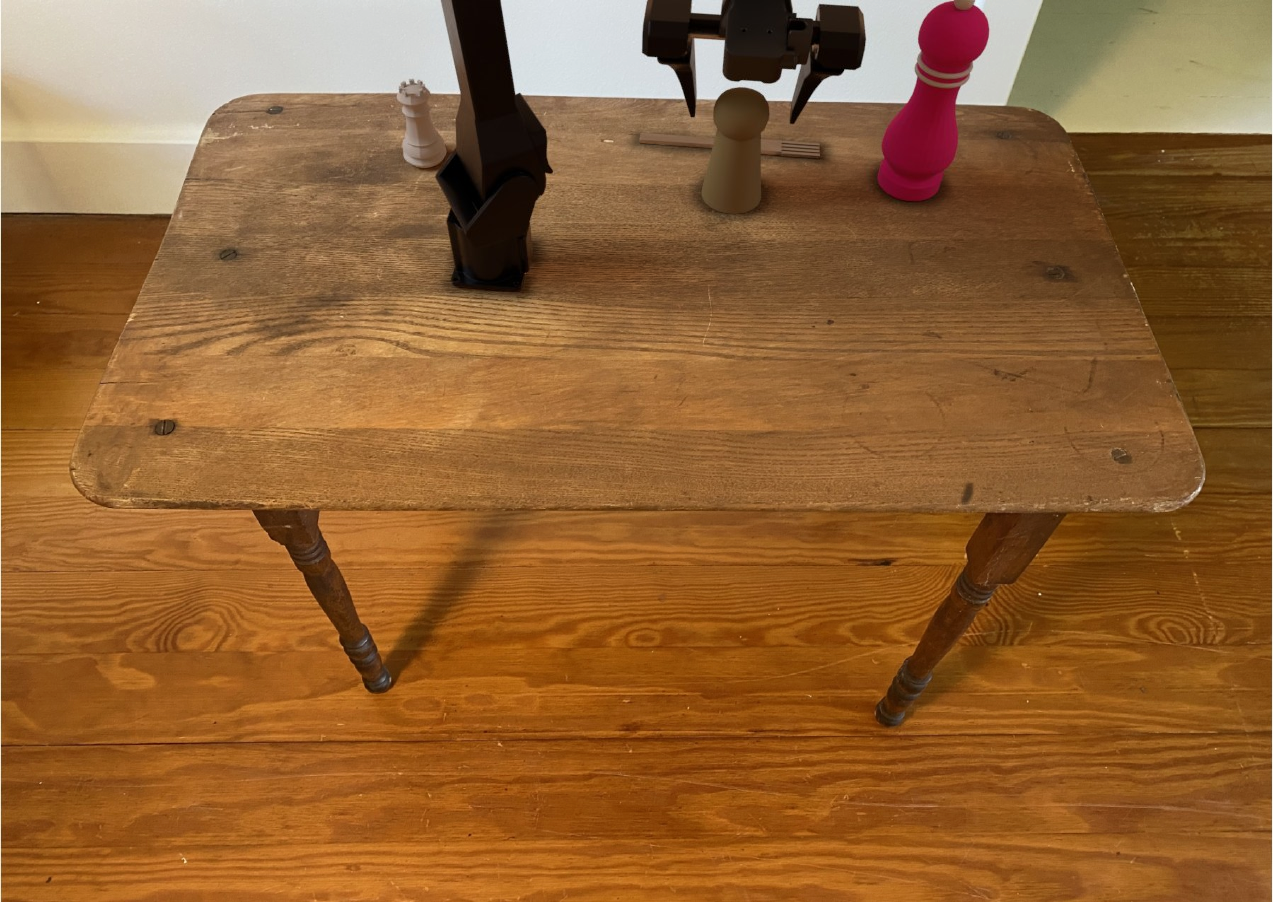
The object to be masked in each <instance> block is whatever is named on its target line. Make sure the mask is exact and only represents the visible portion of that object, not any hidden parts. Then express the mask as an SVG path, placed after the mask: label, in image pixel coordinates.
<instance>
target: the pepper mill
mask: <svg viewBox="0 0 1273 902" xmlns="http://www.w3.org/2000/svg"><path fill="white" fill-rule="evenodd" d="M975 2H976V0H948V1H945V2H942V3H940V4H937V5H936V6H935V7H933V8H932V9H931V10H930V11H928V12H927V14H926V15H925V17H924V18H923V20H922V22H921V24H920V26H919V30H918V35H917V43H918V44H917V45H918V47H919V49H920V52H919V53H918V55H917V57H916V63H915V64H914V73H915V75H916V81H915V85H914V88H913V91H912V93H911V96H910V98H909V99H908V101H907V102H906V103H905V104H904V106H903V107H902V109H900V111H898V113H897V114H896V115H895V116H894V117H893V119H892V120H891V121H890V123H889V124H888V125H887V127H886V129H885V132H884V134H883V137H882V140H881V152H882V153H881V154H882V155H883V159H882V160H881V162H880V166H879V170H878V173H877V183H878V184H879V186H880V188H881V189H882V191H884V192H885V193H886V194H888V195H889V196H891V197H893V198H895V199H898V200H901V201H905V202H921V201H926V200H928V199H930V198H932V197H933V196H935V195H936V193H937V192H938V191H939V189H940V186H941V183H942V180H943V177H944V171H945V170H947V168H949V167H950V166H951V164H952V163H953V162H954V160H955V157H956V155H957V150H958V145H959V129H958V122H957V114H956V107H957V106H956V105H957V99H958V95H959V91H960V89H961V87H962V86H964V85H965V84H967V82H969V80H970V78H971V72H973V69H974V62H975V61H976V60H977V59H979V57H980V56H981V55H982V54H983V53H984V52H985V50H986V48H987V45H988V42H989V38H990V25H989V20H988V17H987V16H986V13H984V11H982V9H980V7H979V6H977V5H976V4H975Z"/></svg>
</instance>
